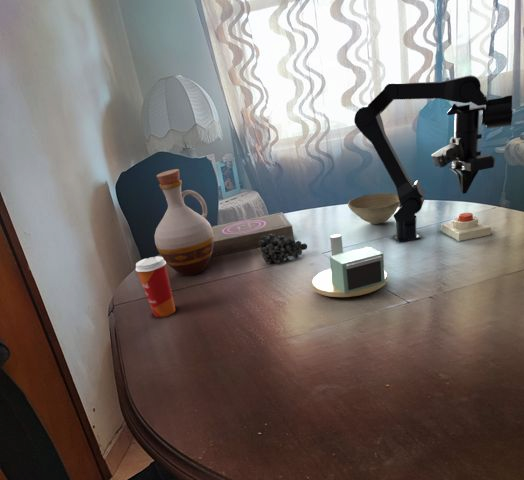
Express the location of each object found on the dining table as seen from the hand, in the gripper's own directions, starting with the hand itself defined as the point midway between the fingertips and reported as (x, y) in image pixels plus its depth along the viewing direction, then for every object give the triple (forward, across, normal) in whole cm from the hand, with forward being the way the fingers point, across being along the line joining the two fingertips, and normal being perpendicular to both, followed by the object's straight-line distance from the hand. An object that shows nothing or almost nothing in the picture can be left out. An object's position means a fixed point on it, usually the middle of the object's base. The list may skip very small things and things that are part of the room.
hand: (463, 193), depth 127 cm
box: (+12, -1, +1) cm, 12 cm away
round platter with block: (+10, +20, -39) cm, 45 cm away
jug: (+12, -18, -78) cm, 81 cm away
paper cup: (+12, +13, -86) cm, 88 cm away
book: (+12, -40, -60) cm, 72 cm away
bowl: (+12, -29, -15) cm, 35 cm away
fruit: (+12, -10, -50) cm, 53 cm away
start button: (+8, -1, +1) cm, 8 cm away
